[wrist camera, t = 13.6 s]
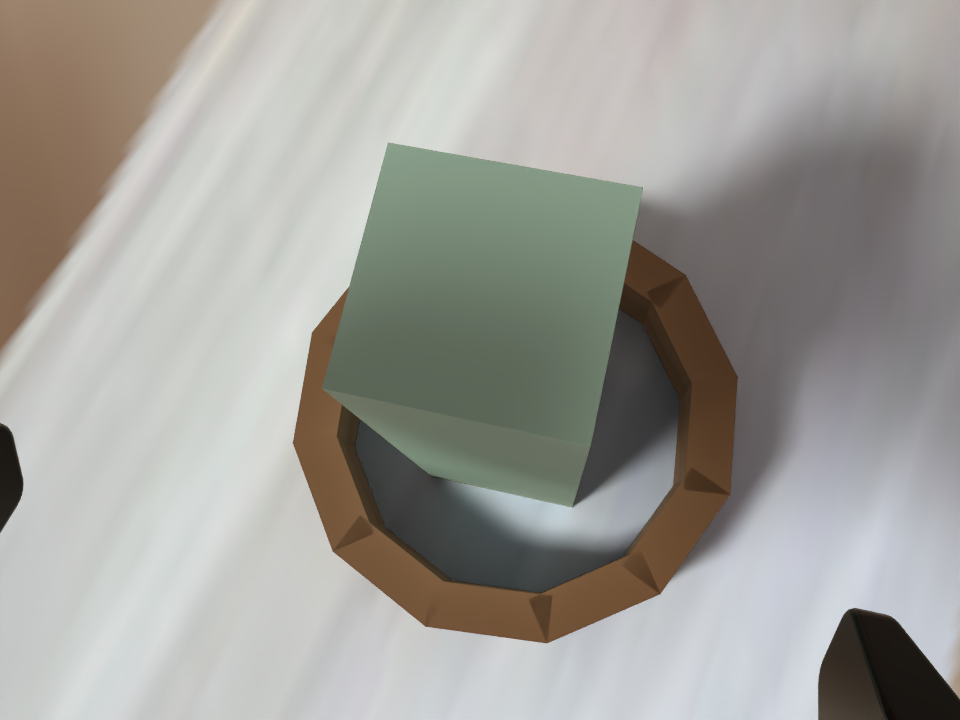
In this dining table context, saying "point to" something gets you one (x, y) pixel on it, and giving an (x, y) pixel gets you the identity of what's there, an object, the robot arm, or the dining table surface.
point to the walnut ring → (591, 596)
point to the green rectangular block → (485, 318)
